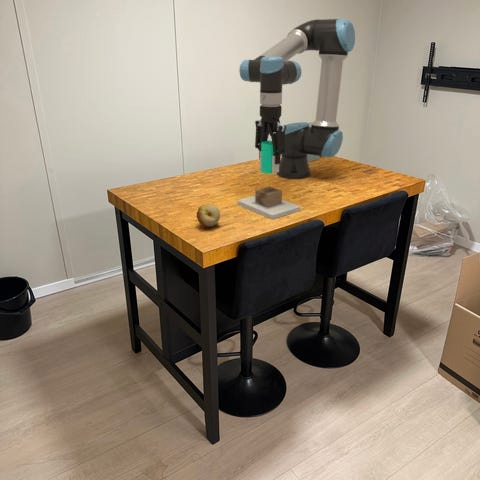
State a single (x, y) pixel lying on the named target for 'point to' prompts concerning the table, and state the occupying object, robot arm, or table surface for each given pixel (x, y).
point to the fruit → (208, 215)
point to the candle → (266, 157)
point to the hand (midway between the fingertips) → (269, 170)
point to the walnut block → (268, 196)
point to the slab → (271, 211)
